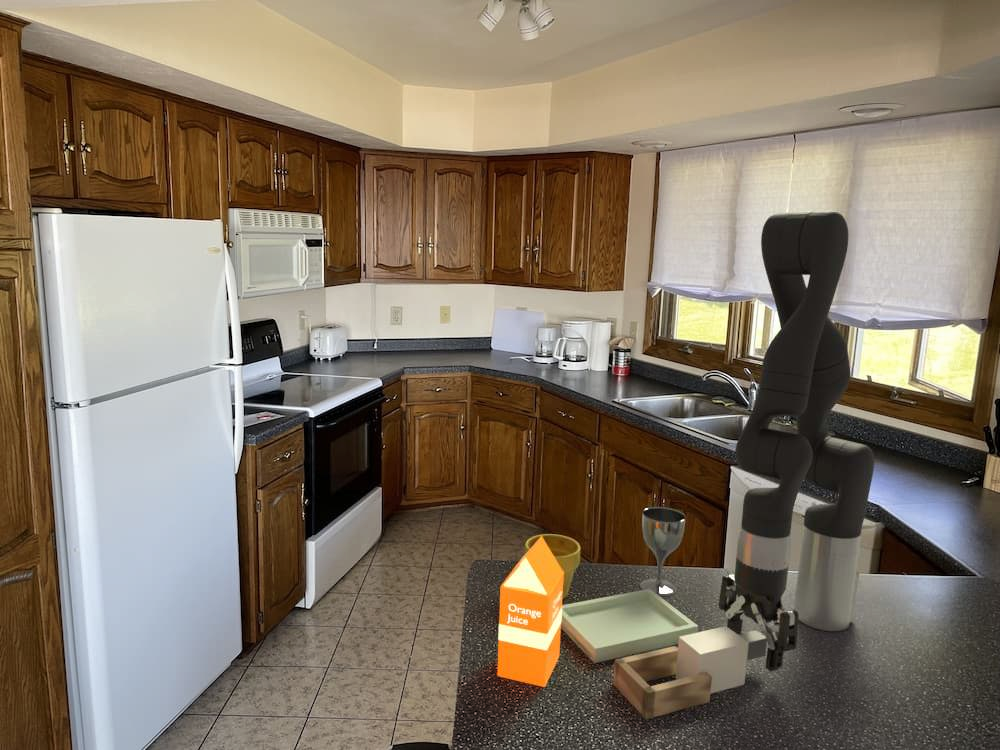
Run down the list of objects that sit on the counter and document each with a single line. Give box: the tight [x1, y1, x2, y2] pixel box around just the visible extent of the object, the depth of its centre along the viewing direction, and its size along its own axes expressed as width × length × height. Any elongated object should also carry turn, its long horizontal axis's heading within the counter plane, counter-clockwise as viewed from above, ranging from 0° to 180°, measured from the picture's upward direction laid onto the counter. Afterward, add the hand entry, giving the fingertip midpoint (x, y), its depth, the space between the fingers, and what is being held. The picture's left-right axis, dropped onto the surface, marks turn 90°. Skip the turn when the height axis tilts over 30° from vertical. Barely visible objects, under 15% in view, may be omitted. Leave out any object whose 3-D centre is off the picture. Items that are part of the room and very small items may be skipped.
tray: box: [561, 589, 699, 664], centre depth 121 cm, size 20×14×2 cm
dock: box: [612, 645, 712, 720], centre depth 104 cm, size 11×9×4 cm
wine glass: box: [639, 506, 686, 597], centre depth 136 cm, size 8×8×15 cm
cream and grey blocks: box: [675, 625, 768, 695], centre depth 108 cm, size 14×5×7 cm, turn 113°
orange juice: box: [496, 536, 564, 688], centre depth 108 cm, size 8×9×20 cm
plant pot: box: [524, 533, 582, 600], centre depth 133 cm, size 10×10×10 cm
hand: (752, 654), depth 111 cm, fingers open, 8 cm apart
